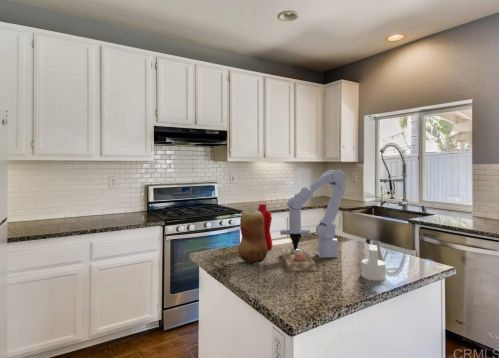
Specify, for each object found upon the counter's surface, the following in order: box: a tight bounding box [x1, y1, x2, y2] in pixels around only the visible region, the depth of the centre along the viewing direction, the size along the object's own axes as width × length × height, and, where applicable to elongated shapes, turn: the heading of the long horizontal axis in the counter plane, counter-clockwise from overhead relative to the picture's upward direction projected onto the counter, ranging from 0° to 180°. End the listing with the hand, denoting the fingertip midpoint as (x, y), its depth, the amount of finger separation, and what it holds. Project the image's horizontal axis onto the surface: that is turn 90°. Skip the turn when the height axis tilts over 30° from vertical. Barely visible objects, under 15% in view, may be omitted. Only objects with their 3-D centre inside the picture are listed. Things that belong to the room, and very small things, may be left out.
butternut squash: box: [238, 209, 269, 265], centre depth 143 cm, size 14×13×25 cm
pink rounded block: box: [295, 253, 304, 261], centre depth 138 cm, size 4×4×4 cm
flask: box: [372, 240, 386, 263], centre depth 142 cm, size 7×7×10 cm
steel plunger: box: [290, 247, 300, 254], centre depth 150 cm, size 4×4×4 cm
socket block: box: [281, 248, 316, 272], centre depth 144 cm, size 12×24×3 cm, turn 0°
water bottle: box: [256, 203, 273, 251], centre depth 168 cm, size 9×11×25 cm
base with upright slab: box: [361, 244, 386, 282], centre depth 124 cm, size 9×9×12 cm
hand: (295, 248), depth 150 cm, fingers closed, pressing on steel plunger
